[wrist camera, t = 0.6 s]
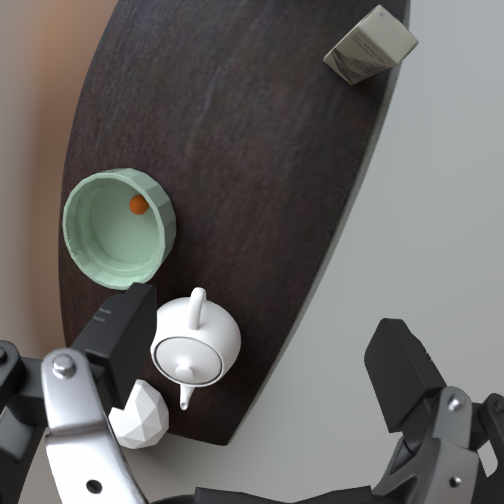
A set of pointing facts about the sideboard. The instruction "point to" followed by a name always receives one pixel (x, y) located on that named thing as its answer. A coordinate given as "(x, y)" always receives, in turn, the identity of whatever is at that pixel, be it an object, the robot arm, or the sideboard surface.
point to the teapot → (194, 342)
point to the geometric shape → (141, 417)
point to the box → (371, 47)
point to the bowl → (118, 228)
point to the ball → (138, 204)
